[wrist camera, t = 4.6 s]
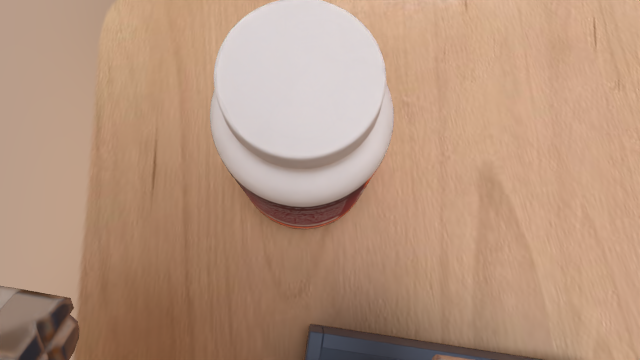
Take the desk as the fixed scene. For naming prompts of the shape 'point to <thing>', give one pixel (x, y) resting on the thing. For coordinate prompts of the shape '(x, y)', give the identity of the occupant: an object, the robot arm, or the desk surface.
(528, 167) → the desk surface
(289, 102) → the pill bottle
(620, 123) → the desk surface
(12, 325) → the robot arm
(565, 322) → the desk surface
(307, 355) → the slate tray
